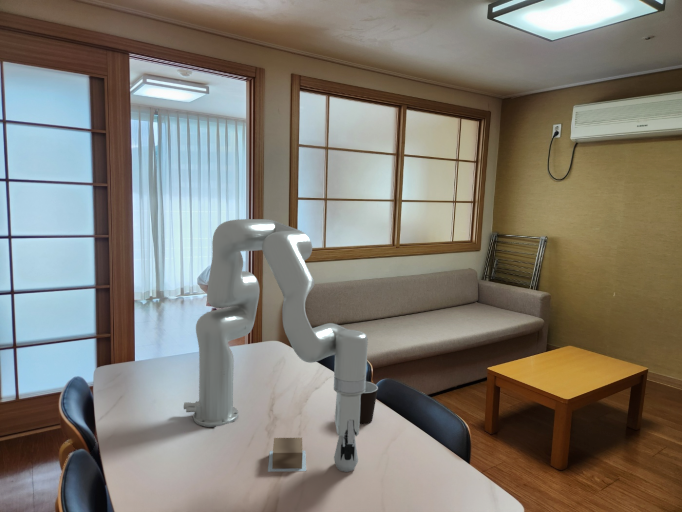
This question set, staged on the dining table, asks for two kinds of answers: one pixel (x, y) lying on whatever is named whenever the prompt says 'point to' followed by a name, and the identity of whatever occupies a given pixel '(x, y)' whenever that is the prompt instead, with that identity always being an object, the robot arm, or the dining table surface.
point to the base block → (287, 453)
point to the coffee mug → (368, 403)
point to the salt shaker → (342, 463)
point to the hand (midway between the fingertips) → (346, 456)
